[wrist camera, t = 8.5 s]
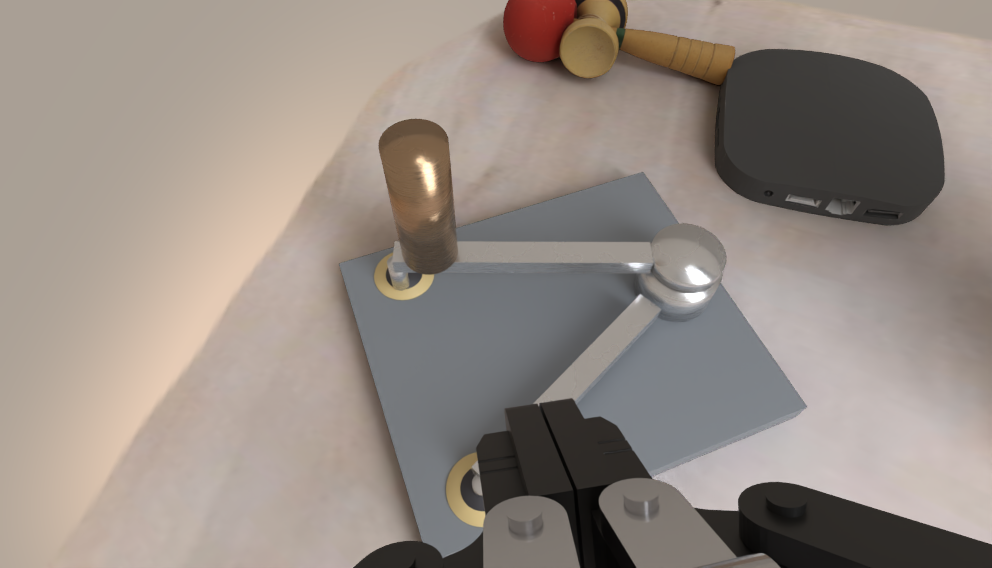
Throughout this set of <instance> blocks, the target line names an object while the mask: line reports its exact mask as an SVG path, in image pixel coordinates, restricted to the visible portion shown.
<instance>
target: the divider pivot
mask: <svg viewBox="0 0 992 568" xmlns="http://www.w3.org/2000/svg"><path fill="white" fill-rule="evenodd" d="M651 244H652V243H651ZM651 244H650V245H651ZM721 280H722V273H721V275H720V276H719V278H718V280H717V282H716V283H715V284H714V285H713V286H712V287H711V288H709V289H708V290H705V291H703V292H700V293H693V294H687V293H680V292H676V291H673V290H671V289H669V288H667V287H665V286H664V285H662V284H661V283H660V282H658V281H657V279H656V278H655V277H654V276H653V275H652V273H651V271H650V273H637V276H636V279H635V283H634V290H635V294H636V297H637V298H636V299H635V300H634V301H633V302H632V303H631V304H630V305H629V306H628V307H627V308H626V309H625V310H624V311H623V312H622V313H621V314H620V316H619V317H618V318H617V319H616V320H615V321H614V322H613V323H612V324H611V325H610V326H609V327H608V328H607V329H606V330H605V331H604V332H603V333H602V334H601V335H600V336H599V337H598V338H597V339H596V340H595V341H594V342H593V343H592V344H591V345H590V346H589V347H588V348H587V349H586V350H585V351H584V352H583V353H582V354H581V355H580V356H579V357H578V358H577V359H576V360H575V361H574V363H573V364H572V365H571V366H570V367H569V368H568V369H567V370H566V371H565V372H564V373H563V374H562V375H561V376H560V377H559V378H558V379H557V380H556V381H555V382H554V383H553V384H552V385H551V386H550V387H549V388H548V389H547V390H546V391H545V392H544V393H543V394H542V395H541V396H540V397H539V398H538V399H537V400H536V401H535V402H534V403H533V404H538V406H539V403H543V402H549V401H556V400H563V399H569V398H573V400H574V401H575V403H576V404H577V403H578V402H579V401H580V400H581V399H582V398H583V397H584V396H585V395H586V394H587V393H588V392H589V391H590V389H591V388H592V387H593V386H594V385H595V384H596V383H597V382H598V381H599V380H600V379H601V378H602V377H603V376H604V375H605V373H606V372H607V371H608V370H609V369H610V368H611V367H612V366H613V365H614V364H615V363H616V362H617V361H618V360H619V359H620V357H621V356H622V355H623V354H624V353H625V352H626V351H627V350H628V349H629V348H630V347H631V346H632V345H633V344H634V343H635V341H636V340H637V339H638V338H639V337H640V336H641V335H642V334H643V333H644V332H645V331H646V330H647V329H648V328H649V327H650V325H651V324H652V323H653V322H654V321H655V320H656V319H657V318H659V319H662V320H665V321H669V322H686V321H690V320H692V319H695V318H696V317H698V316H699V315H700V314H702V313H703V311H704V310H705V309H706V307H707V305H708V303H709V302H710V300H711V298H712V297H713V295H714V293H715V291H716V290H717V288H718V286H719V284H720V282H721ZM471 468H472V473H473V474H474V475H475V476H474V478H473V480H472V488H473V492H474V493H475V495H477V496H478V497H483V496H482V489H481V481H480V474H479V466H478V461H477V462H476V463H475V464H474V465H473V466H472V467H471Z"/></svg>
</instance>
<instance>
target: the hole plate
mask: <svg viewBox="0 0 992 568" xmlns="http://www.w3.org/2000/svg"><path fill="white" fill-rule="evenodd" d="M673 224H679V223H678V221H677V220H676V218H675V217H674V215H673V214H672V213H671V211H670V210H669V208H668V207H667V205H666V204H665V203H664V201H663V200H662V198H661V197H660V195H659V194H658V193H657V191H656V190H655V188H654V187H653V185H652V184H651V183H650V181H649V180H648V178H647V177H646V175H645V174H644V173H643V172H641V173H638V174H634V175H631V176H628V177H624V178H621V179H618V180H614V181H611V182H608V183H605V184H601V185H598V186H595V187H591V188H588V189H585V190H581V191H578V192H575V193H571V194H568V195H565V196H561V197H558V198H555V199H551V200H548V201H545V202H542V203H538V204H535V205H532V206H528V207H525V208H522V209H518V210H515V211H512V212H508V213H505V214H502V215H498V216H495V217H492V218H488V219H485V220H482V221H478V222H475V223H472V224H469V225H465V226H462V227H459V228H456V234H457V241H484V242H650V244H651V243H652V241H653V239H654V237H655V236H656V234H657V233H658V232H659V231H660V230H662V229H663V228H665V227H667V226H670V225H673ZM393 251H394V247H392V248H389V249H386V250H382V251H379V252H376V253H372V254H369V255H366V256H362V257H359V258H356V259H352V260H349V261H346V262H342V263H339V266H340V269H341V272H342V276H343V279H344V282H345V286H346V289H347V292H348V296H349V299H350V302H351V306H352V309H353V312H354V316H355V319H356V322H357V326H358V329H359V332H360V336H361V339H362V342H363V346H364V349H365V352H366V356H367V359H368V362H369V366H370V369H371V372H372V376H373V379H374V382H375V386H376V389H377V392H378V395H379V399H380V402H381V405H382V409H383V412H384V415H385V419H386V422H387V425H388V429H389V432H390V435H391V439H392V442H393V445H394V449H395V452H396V455H397V459H398V462H399V465H400V469H401V472H402V475H403V479H404V482H405V485H406V489H407V492H408V495H409V499H410V502H411V505H412V509H413V512H414V515H415V519H416V522H417V525H418V529H419V532H420V535H421V539H422V542H423V543H427V544H429V545H432V546H433V547H435V548H436V549H437V550H438V551H439V552H440V553H441V555H442V557H443V558H444V557H446V556H449V555H451V554H454V553H456V552H458V551H460V550H462V549H464V548H466V547H467V546H469V545H470V544H471V543H473V542H474V541H475V540H476V539H477V538H478V537H479V536H480V534H481V533H482V531H483V522H484V519H485V511H484V503H483V497H478V496H477V495H475V493H474V492H473V488H472V480H473V478H474V476H475V475H474V474H473V473H472V468H471V467H472V466H473V465H474V464H475V463H476V462H477V461H478V459H477V452H476V447H477V445H478V443H479V442H480V440H481V438H482V437H483V435H484V434H489V433H496V432H502V431H506V423H505V413H504V408H510V407H517V406H524V405H530V404H533V403H534V402H535V401H536V400H537V399H538V398H539V397H540V396H541V395H542V394H543V393H544V392H545V391H546V390H547V389H548V388H549V387H550V386H551V385H552V384H553V383H554V382H555V381H556V380H557V379H558V378H559V377H560V376H561V375H562V374H563V373H564V372H565V371H566V370H567V369H568V368H569V367H570V366H571V365H572V364H573V363H574V361H575V360H576V359H577V358H578V357H579V356H580V355H581V354H582V353H583V352H584V351H585V350H586V349H587V348H588V347H589V346H590V345H591V344H592V343H593V342H594V341H595V340H596V339H597V338H598V337H599V336H600V335H601V334H602V333H603V332H604V331H605V330H606V329H607V328H608V327H609V326H610V325H611V324H612V323H613V322H614V321H615V320H616V319H617V318H618V317H619V316H620V314H621V313H622V312H623V311H624V310H625V309H626V308H627V307H628V306H629V305H630V304H631V303H632V302H633V301H634V300H635V299H636V298H637V297H636V294H635V290H634V283H635V279H636V276H637V273H437V274H432V275H425V274H420V273H408V277H409V282H410V284H409V287H408V288H407V289H405V290H403V291H398V290H396V289H394V287H393V285H392V281H391V277H390V273H389V270H388V266H387V260H388V259H389V257H391V256H393ZM576 405H577V407H578V408H579V410H580V412H581V414H582V415H583V417H584V419H586V418H592V417H599V416H601V417H603V418H604V419H606V420H608V421H610V422H612V423H613V424H615V425H617V426H618V428H619V429H620V431H621V432H622V434H623V435H624V437H625V440H627V441H628V443H629V444H630V446H631V447H632V451H634V452H635V453H636V455H637V456H638V458H639V459H640V461H641V462H642V464H643V465H644V467H645V468H646V470H647V471H648V473H649V474H650V476H651V477H652V476H654V475H657V474H659V473H661V472H664V471H666V470H669V469H671V468H674V467H676V466H678V465H681V464H683V463H686V462H688V461H690V460H693V459H695V458H698V457H700V456H703V455H705V454H707V453H710V452H712V451H715V450H717V449H719V448H722V447H724V446H727V445H729V444H732V443H734V442H736V441H739V440H741V439H744V438H746V437H748V436H751V435H753V434H756V433H758V432H760V431H763V430H765V429H768V428H770V427H773V426H775V425H777V424H780V423H782V422H785V421H787V420H789V419H792V418H794V417H796V416H797V415H798V414H800V413H801V412H802V411H803V410H804V409H805V408H807V406H806V404H805V403H804V401H803V400H802V399H801V397H800V396H799V394H798V393H797V391H796V390H795V389H794V387H793V386H792V384H791V383H790V381H789V380H788V379H787V377H786V376H785V374H784V373H783V371H782V370H781V368H780V367H779V366H778V364H777V363H776V361H775V360H774V358H773V357H772V356H771V354H770V353H769V351H768V350H767V348H766V347H765V346H764V344H763V343H762V341H761V340H760V338H759V337H758V336H757V334H756V333H755V331H754V330H753V328H752V327H751V326H750V324H749V323H748V321H747V320H746V318H745V317H744V316H743V314H742V313H741V311H740V310H739V308H738V307H737V306H736V304H735V303H734V301H733V300H732V298H731V297H730V296H729V294H728V293H727V291H726V290H725V288H724V287H723V286H722V284H721V283H720V284H719V286H718V288H717V290H716V291H715V293H714V295H713V297H712V298H711V300H710V302H709V303H708V305H707V307H706V309H705V310H704V311H703V313H702V314H700V315H699V316H698V317H696V318H695V319H692V320H690V321H686V322H669V321H665V320H662V319H659V318H657V319H656V320H655V321H654V322H653V323H652V324H651V325H650V327H649V328H648V329H647V330H646V331H645V332H644V333H643V334H642V335H641V336H640V337H639V338H638V339H637V340H636V341H635V343H634V344H633V345H632V346H631V347H630V348H629V349H628V350H627V351H626V352H625V353H624V354H623V355H622V356H621V357H620V359H619V360H618V361H617V362H616V363H615V364H614V365H613V366H612V367H611V368H610V369H609V370H608V371H607V372H606V373H605V375H604V376H603V377H602V378H601V379H600V380H599V381H598V382H597V383H596V384H595V385H594V386H593V387H592V388H591V389H590V391H589V392H588V393H587V394H586V395H585V396H584V397H583V398H582V399H581V400H580V401H579V402H578V403H577V404H576Z"/></svg>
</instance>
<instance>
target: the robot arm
mask: <svg viewBox="0 0 992 568" xmlns="http://www.w3.org/2000/svg"><path fill="white" fill-rule="evenodd" d="M504 413H505V423H506V431H502V432H496V433H489V434H484V435H483V437H482V438H481V440H480V442H479V443H478V445H477V447H476V452H477V459H478V466H479V474H480V481H481V489H482V496H483V503H484V511H485V519H484V522H483V531H482V533H481V534H480V536H479V537H478V538H477V539H476V540H475V541H474V542H473V543H471V544H470V545H469V546H467V547H466V548H464V549H462V550H460V551H458V552H456V553H454V554H451V555H449V556H446V557H444V558H443V557H442V555H441V553H440V552H439V551H438V550H437V549H436V548H435V547H433V546H432V545H429V544H427V543H423V542H418V541H403V542H397V543H393V544H389V545H386V546H384V547H381V548H379V549H377V550H375V551H374V552H372V553H370V554H369V555H368V556H366V557H365V558H364V559H363V560H361V561H360V562H359V563H358V564H357V565H356V566H355V567H353V568H992V544H988V543H985V542H982V541H979V540H975V539H972V538H969V537H966V536H962V535H959V534H956V533H953V532H949V531H946V530H943V529H940V528H936V527H933V526H930V525H927V524H923V523H920V522H917V521H914V520H910V519H907V518H904V517H901V516H898V515H894V514H891V513H888V512H885V511H881V510H878V509H875V508H872V507H868V506H865V505H862V504H859V503H855V502H852V501H849V500H846V499H842V498H839V497H836V496H833V495H829V494H826V493H823V492H820V491H816V490H813V489H810V488H807V487H803V486H800V485H796V484H791V483H783V482H768V483H761V484H756V485H753V486H751V487H749V488H747V489H745V490H744V491H743V492H742V493H741V495H740V496H739V499H738V509H739V511H724V510H705V509H698V508H693V507H692V505H691V504H690V503H689V502H688V501H687V500H686V499H685V497H684V496H683V495H682V494H681V493H680V492H679V491H678V490H677V489H676V488H674V487H673V486H671V485H669V484H667V483H665V482H662V481H658V480H654V479H652V477H651V476H650V474H649V473H648V471H647V470H646V468H645V467H644V465H643V464H642V462H641V461H640V459H639V458H638V456H637V455H636V453H635V452H634V451H632V447H631V446H630V444H629V443H628V441H627V440H625V437H624V435H623V434H622V432H621V431H620V429H619V428H618V426H617V425H615V424H613V423H612V422H610V421H608V420H606V419H604V418H603V417H601V416H599V417H592V418H586V419H584V417H583V415H582V414H581V412H580V410H579V408H578V407H577V405H576V403H575V401H574V400H573V398H569V399H563V400H556V401H549V402H543V403H539V406H538V404H530V405H524V406H517V407H510V408H504Z"/></svg>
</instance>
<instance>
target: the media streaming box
mask: <svg viewBox="0 0 992 568" xmlns="http://www.w3.org/2000/svg"><path fill="white" fill-rule="evenodd" d="M715 166H716V169H717V171H718V173H719V175H720V177H721V178H722V179H723V181H724V182H725V183H726V184H727V185H728V186H729V187H730V188H732V189H733V190H734V191H735V192H737V193H738V194H740V195H742V196H744V197H746V198H748V199H750V200H753V201H755V202H759V203H764V204H768V205H773V206H777V207H782V208H787V209H792V210H797V211H802V212H807V213H812V214H818V215H823V216H829V217H835V218H841V219H847V220H853V221H860V222H867V223H874V224H881V225H898V224H903V223H907V222H909V221H911V220H913V219H915V218H916V217H918V216H919V215H920V214H921V213H922V212H923V211H924V210H925V209H926V207H927V206H928V205H929V204H930V203H931V202H932V201H933V200H934V199H935V198H936V197H937V195H938V194H939V193H940V191H941V190H942V188H943V185H944V178H945V173H944V155H943V146H942V140H941V135H940V130H939V126H938V123H937V119H936V116H935V114H934V111H933V108H932V106H931V104H930V102H929V100H928V98H927V96H926V95H925V94H924V93H923V92H922V91H921V90H920V89H919V88H918V87H917V86H916V85H914V84H913V83H912V82H910V81H909V80H907V79H906V78H904V77H903V76H901V75H899V74H897V73H896V72H894V71H892V70H890V69H887V68H885V67H883V66H880V65H877V64H873V63H870V62H866V61H863V60H859V59H855V58H850V57H845V56H840V55H835V54H829V53H822V52H814V51H804V50H788V49H765V50H758V51H753V52H750V53H747V54H744V55H742V56H740V57H738V58H736V59H735V60H733V63H732V66H731V68H730V69H728V71H727V74H726V77H725V79H724V82H723V83H722V85H721V88H720V93H719V99H718V107H717V116H716V130H715ZM792 203H793V204H792ZM797 204H798V205H797ZM802 205H803V206H802Z"/></svg>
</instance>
